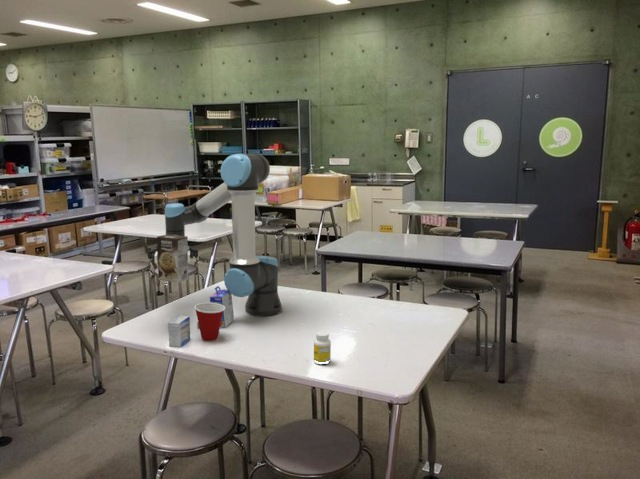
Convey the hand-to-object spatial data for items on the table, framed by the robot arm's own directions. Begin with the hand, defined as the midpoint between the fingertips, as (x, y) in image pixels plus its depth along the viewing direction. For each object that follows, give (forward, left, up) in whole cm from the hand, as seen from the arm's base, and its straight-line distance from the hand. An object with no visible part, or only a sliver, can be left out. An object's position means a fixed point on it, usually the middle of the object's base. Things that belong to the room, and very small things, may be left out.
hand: (172, 258), depth 186 cm
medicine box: (-2, +9, -28) cm, 30 cm away
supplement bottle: (-47, +34, -28) cm, 64 cm away
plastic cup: (-12, +6, -28) cm, 32 cm away
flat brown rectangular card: (-10, -7, -28) cm, 31 cm away
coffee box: (0, -4, -9) cm, 10 cm away
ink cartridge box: (-18, -8, -28) cm, 34 cm away
